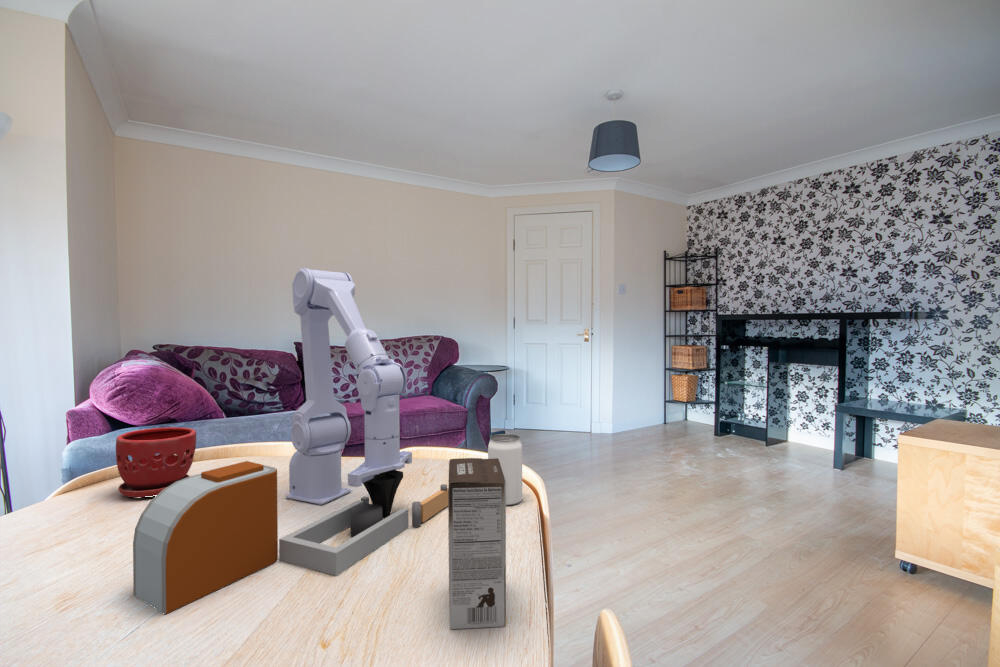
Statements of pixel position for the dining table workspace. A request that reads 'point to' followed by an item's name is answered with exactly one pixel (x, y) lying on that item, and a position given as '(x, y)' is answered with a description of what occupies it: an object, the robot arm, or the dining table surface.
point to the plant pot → (154, 459)
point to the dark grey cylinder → (364, 517)
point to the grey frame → (335, 560)
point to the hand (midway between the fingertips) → (382, 516)
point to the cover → (429, 506)
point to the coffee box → (477, 543)
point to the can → (508, 463)
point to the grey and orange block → (205, 534)
